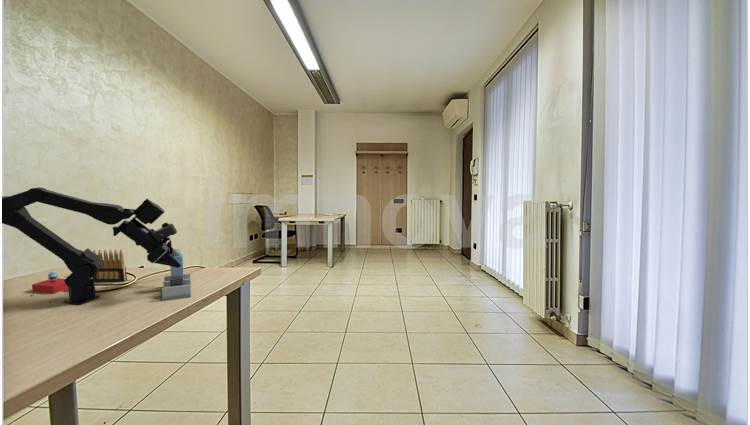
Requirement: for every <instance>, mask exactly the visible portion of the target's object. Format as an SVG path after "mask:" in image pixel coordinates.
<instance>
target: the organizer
mask: <svg viewBox="0 0 750 425" xmlns="http://www.w3.org/2000/svg"><path fill="white" fill-rule="evenodd" d="M163 277H164V279H163V280H164V281H163V282H162V284H163V287H162V288H161V295H162V297H161V298H162V302H164V301H171V300H179V299H180V300H181V299H186V298H191V296H192V294H191V293H192V292H191V289H192V286H191V273H183V275H182V276H172V277H171V274H170V275H165V276H163ZM183 277H184V279H183Z"/></svg>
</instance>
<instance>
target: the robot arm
mask: <svg viewBox="0 0 750 425" xmlns="http://www.w3.org/2000/svg"><path fill="white" fill-rule="evenodd" d="M1 197H2V223H1V224H3V225H6V226H8V227H12V228H15V229H17V230H18V231H20V233H22V234H24V235H25V236H27V237H28V238H30V239H31V240H33V241H34V242H36V243H38V244H39V246H41V247H43V248H45V249H46V250H48V251H49V252H50V253H52V254H53V255H55V256H57V258H59V259H60V260H62V261H63V263H64V264H65V265H66V267H67V269H68V270H69V272H71V273H70V274H69V275H68V276H67V277H66V278H64V279H65V280H64V282H65V283H66V285H67V286H68V289H67V290H68V299H65V300H63V303H65V304H66V303H67V304H73V305H82V304H85V303H88V302H91V301H93V300H96V299H99V298H101V295H99V294H96V285H95V282H94V280H93V279H92V277H93V276H94V275H95V274H96V273H97V272H98V270H99V269H100V268H101V266H102V263H101V260H100V259H99V258H98V257H99V255H98V254H97V255H96V254H94V253H93V251H92V250H91V249H90V248H88V247H87V248H86V249H85V250H81V249H78V248H76V247H74V246H73V245H72V244H70V243H69V242H67V241H66V240H64V239H63V238H62V237H60V236H59V235H58V234H56V233H54V232H53V231H52V230H50V229H49V228H48V227H47V226H45V225H43V224H42V223H40V221H38V220H36V219H35V218H33V216H31V214H30V212H29V210H28V208H26V207H28V206H30V205H32V204H35V203H41V204H45V205H49V206H51V207H55V208H56V207H57V208H60V209H63V210H68V211H72V212H76V213H78V214H79V213H80V214H84V215H87V216H89V217H91V218H93V219H94V220H96V221H99V222H101V223H104V224H106V225H110V226H113V225H117V224H119V223H120V224H119V225H118V226H113V227H112V230H113V234H112V235H113V237H116V236H118V234H120V233H121V234H122V235H124V236H126V237H127V238H129V240H131V241H133V242H134V245H136V246H137V247H139V246H140V247H141V248H143V249H144V250H145V251H146V253H147V255H146V260H147V261H148V262H149V263H151V264H158V265H163V266H169V267H171V266H172V267H177V268H179V267H180V266H181V265H180V264H179V263H178V262H177V260H176V259H175V258H174V257H173V256H172V250H174V249H175V248H173V246H172V239H171V237H170V236H174V235H176V234H177V232H178V230H177V229H176V227H175V225H174V224H173V223H168V222H163V223H161V228H159V229H157V230H155V229H154V228H149V227H147V226H146V225H148V224H149V225H153V223H155V221H157V220H158V219H159V218H160V217H161V216H162V215H164V213H165V210H164V209H163V208H162V207H161V206H160V205H158V204H157V203H155V202H154V201H152V200H150V199H148V198H145V200H144V201H142V203H141V204H140V205H139V206H138V207H136V208H135V209H134V208H125V207H123V206H121V205H119V204H114V203H113V204H112V203H106V202H105V203H104V202H96V201H95V202H94V201H91V200H90V201H89V200H86V199H82V198H79V197H74V196H71V195H67V194H64V193H60V192H57V191H54V190H50V189H46V188H44V187H39V186H38V187H33V188H30V189H28V190H26V191H22V192H19V193H15V194H12V195H6V196H5V195H4V196H1ZM132 216H134V217H132ZM130 218H131V219H130ZM127 219H128V220H129V219H130V220H129V221H128V220H127Z"/></svg>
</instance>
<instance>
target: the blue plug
mask: <svg viewBox="0 0 750 425" xmlns="http://www.w3.org/2000/svg"><path fill="white" fill-rule="evenodd" d="M173 249H174V250H172V256H173V257H174V258H175V259H176V260H177V262H178V263H179V264H180V265H181V266H180V267H179V268H177V267H172V266H170V275H171V277H172V276H182V275H183V274H184V260H183V258H184V256H183V253H181V248H180V249H179V248H173ZM183 279H184V277H183Z"/></svg>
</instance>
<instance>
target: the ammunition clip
mask: <svg viewBox="0 0 750 425" xmlns="http://www.w3.org/2000/svg"><path fill="white" fill-rule="evenodd" d="M92 252H93V253H94V254H96V255H99V257H98V258H99V259H100V260H101V263H102V266H101V268H100V269H99V270H98V272H97V273H96V274H95V275H94V276H93V277H92V278H91V279H93V280H94V283H124V282H126V281H127V280H128V276H127V269H126V267H127V266H126V264H125V257H124V253H123V249H120V250H119V252H118V250H117V249H114V253H113V251H112V249H110V250H109V252H108V251H107V249H104V250H103V253H102V250H101V249H99V250H98V254H97V250H96V249H93V251H92Z"/></svg>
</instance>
